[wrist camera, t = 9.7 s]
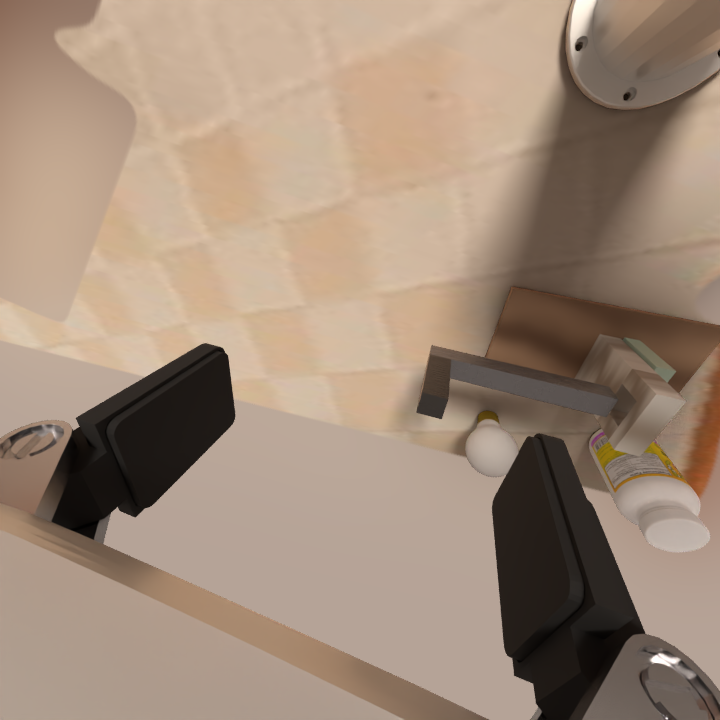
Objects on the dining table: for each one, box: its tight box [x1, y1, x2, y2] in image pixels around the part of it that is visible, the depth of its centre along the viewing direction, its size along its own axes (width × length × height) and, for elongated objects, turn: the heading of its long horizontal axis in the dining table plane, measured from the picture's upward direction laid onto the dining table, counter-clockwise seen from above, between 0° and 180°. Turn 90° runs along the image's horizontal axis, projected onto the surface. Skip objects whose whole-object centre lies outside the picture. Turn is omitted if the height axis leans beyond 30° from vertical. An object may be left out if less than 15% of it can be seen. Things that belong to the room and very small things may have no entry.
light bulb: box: [465, 411, 519, 477], centre depth 39 cm, size 6×6×10 cm
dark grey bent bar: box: [417, 345, 619, 419], centre depth 26 cm, size 2×16×8 cm, turn 83°
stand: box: [485, 287, 720, 457], centre depth 30 cm, size 12×20×13 cm, turn 83°
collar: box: [623, 337, 676, 383], centre depth 31 cm, size 6×2×6 cm, turn 173°
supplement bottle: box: [589, 429, 710, 552], centre depth 34 cm, size 7×7×13 cm
